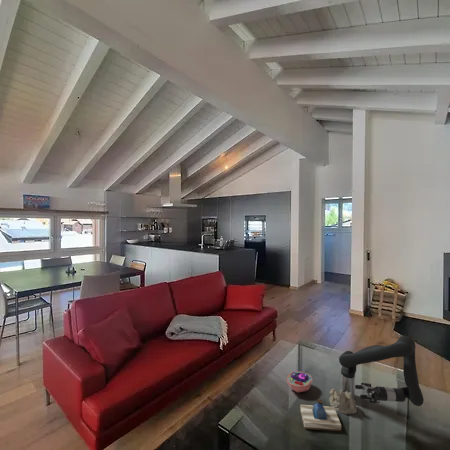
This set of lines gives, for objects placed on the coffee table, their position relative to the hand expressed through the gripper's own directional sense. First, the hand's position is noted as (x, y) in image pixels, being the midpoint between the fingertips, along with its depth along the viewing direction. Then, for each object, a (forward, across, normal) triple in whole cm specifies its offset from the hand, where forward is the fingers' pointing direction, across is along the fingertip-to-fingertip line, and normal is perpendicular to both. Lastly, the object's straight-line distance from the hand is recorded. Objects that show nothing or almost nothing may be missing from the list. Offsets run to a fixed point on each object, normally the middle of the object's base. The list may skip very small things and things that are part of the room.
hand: (357, 391), depth 165 cm
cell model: (+30, -30, +24) cm, 49 cm away
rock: (+3, -16, +23) cm, 28 cm away
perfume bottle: (+22, -1, +22) cm, 31 cm away
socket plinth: (+22, -1, +23) cm, 32 cm away
